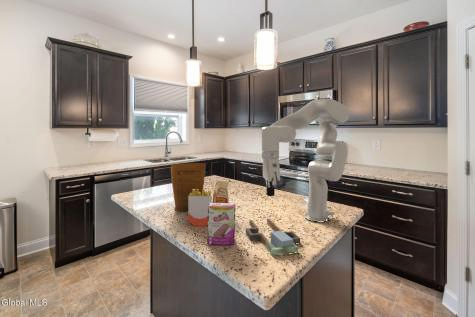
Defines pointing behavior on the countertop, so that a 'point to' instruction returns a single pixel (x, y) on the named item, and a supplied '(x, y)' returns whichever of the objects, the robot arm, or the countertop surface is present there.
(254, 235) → the lane
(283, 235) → the block
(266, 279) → the countertop surface
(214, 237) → the candy bar box
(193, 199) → the french fries container
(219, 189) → the milk carton
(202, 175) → the pancake mix bag
